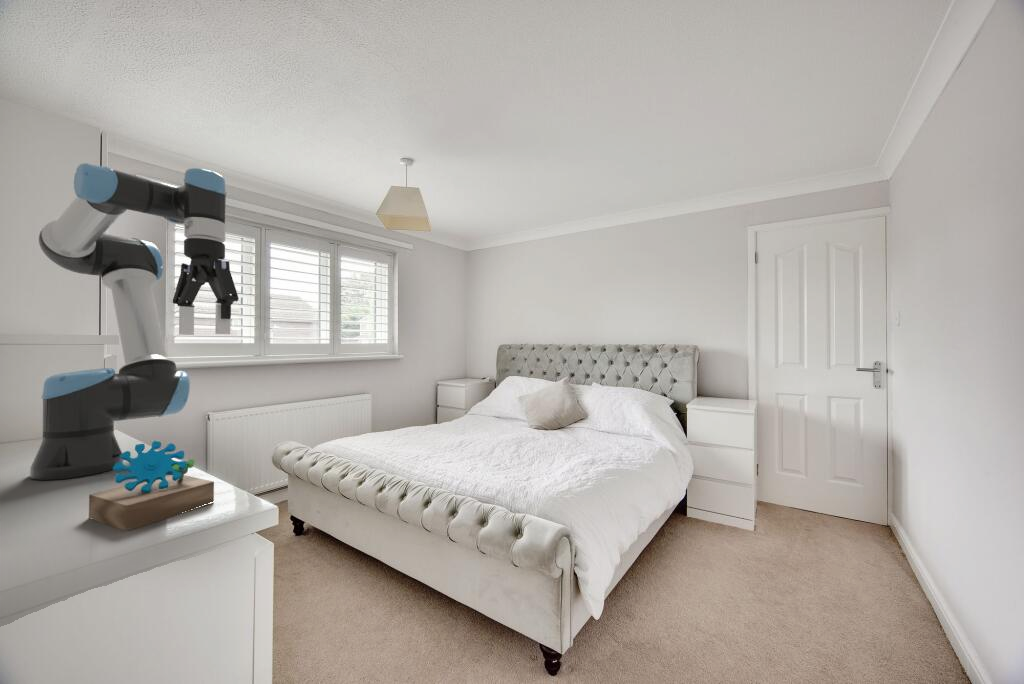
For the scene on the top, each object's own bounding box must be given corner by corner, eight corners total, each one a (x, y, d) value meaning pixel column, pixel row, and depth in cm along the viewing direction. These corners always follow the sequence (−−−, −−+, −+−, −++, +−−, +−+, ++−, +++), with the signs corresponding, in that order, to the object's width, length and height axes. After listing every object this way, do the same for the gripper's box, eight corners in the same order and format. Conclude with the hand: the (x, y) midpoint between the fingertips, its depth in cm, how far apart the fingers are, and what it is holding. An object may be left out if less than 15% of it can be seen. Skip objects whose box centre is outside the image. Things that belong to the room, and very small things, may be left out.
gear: (105, 490, 69) (121, 438, 75) (105, 508, 72) (120, 457, 78) (190, 486, 75) (198, 439, 81) (186, 503, 78) (194, 456, 84)
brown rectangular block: (88, 518, 72) (89, 494, 72) (176, 493, 83) (176, 473, 83) (126, 531, 67) (126, 505, 67) (213, 503, 78) (213, 481, 79)
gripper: (154, 242, 98) (153, 334, 97) (222, 230, 87) (221, 333, 87) (190, 249, 104) (190, 335, 104) (257, 238, 94) (256, 334, 94)
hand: (204, 334), depth 96 cm, fingers open, 13 cm apart
